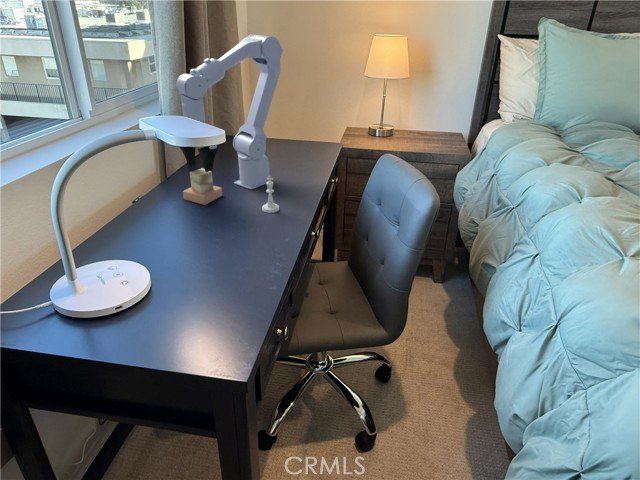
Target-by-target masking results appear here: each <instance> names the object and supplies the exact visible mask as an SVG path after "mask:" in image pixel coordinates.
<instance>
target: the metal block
mask: <svg viewBox="0 0 640 480" xmlns="http://www.w3.org/2000/svg"><path fill="white" fill-rule="evenodd" d="M189 177H190V185H191V187H192V190H194V191H196V192H198V193H200V194H202V193H205V192H208V191H210V190H213V189H214V188H213V186H214V179H213V172H212V171H209V172H205V169H204V167H201V168H198V169H196V170H191V171H189ZM191 187H190V188H191Z"/></svg>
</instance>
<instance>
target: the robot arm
mask: <svg viewBox="0 0 640 480" xmlns="http://www.w3.org/2000/svg"><path fill="white" fill-rule="evenodd" d="M283 50H284V49H283V48H282V45H281V42H280V40H279V39H278V38H277V37H276V36H273V35H269V36H268V35H262V34H261V35H260V34H258V33H251V34H249V35H248V36H246V37H244V38H243V39H241V41H240V42H239V43H237V44H236V45H235V46H234V47H232V48H231V49H230V50H229V51H227V52H226V53H225V54H223V55H222V56H220V57H219V58H218V59H216V58H213V57H212V58H205V59H204V60H203V63H201V65H199V66H197V67H196V68H191V69H189V73H183V74H181V75H179V77H178V78H177V80H176V82H175V83H176V85H174V88H175V90H176V92H177V93H178V94H179V97H180V101H181V109H182V111H181V112H182V117H183V116H184V117H188V118H192V119H194V120H197V121H200V122H203V123H206V114H205V105H204V96H206V92H207V90H208V89H209V88H211V87H212V86H214V85H215V84H217V83H218V82H219V81H221V80H223V79H224V77H225V75H226V71H227V70H230V69H231V68H233V67H234V66H236V65H237V64H239V63H241V62H243V61H245V60H246V59H249V58H250V59H252V60H253V62H255V64H256V65H257V67H258V70H259V72H260V73H259V76H258V80H257V84H256V86H255V90H254V94H253V98H252V101H251V105H250V108H249V111H248V115H247V118H246V121H245V123H244V124H242V125H241V126H240V127H239V129H238V131H237V133H236V135H235V136H234V138H233V141H232V146H233V149H234V150H235V151H236V153H237V156H238V157H237V159H238V171H239V179H238V180H236V181H234V182H233V183H234V184H235V185H237V186H241V187H242V188H246V189H249V190H254V189H256V188H259V187H261V186H264V185H266V183H267V182H269V180H267V178H269V176H271V174H270V173H271V172H270V162H269V158H268V156H267V155H266V154H265V153H266V149H267V147H266V146H267V145H266V143H267V138H268V137H267V135H266V133H265V130H264V128H265V124H266V121H267V118H268V114H269V112H270V108H271V104H272V101H273V98H274V94H275V91H276V89H277V84H278V81H279V78H280V73H281V58H282V54H283ZM179 149H180V151H181V153H182V154H183V156H184V158H185V160H186V163H187V165H188V166H189V167H191V166H194V165H196V162H197V161H196V160H197V156H196V148H193V147H179ZM218 150H219V146H218V145H215V146H210V147H204V146H203V147H199V148H197V151H198V153H199V154H200V157H201V159H202V164H203V169H205V172H209V171H211V172H212V171H213V169H214V162H215V161H214V160H215V157H216V155H217V152H218ZM271 182H273V180H271Z"/></svg>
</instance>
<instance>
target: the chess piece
mask: <svg viewBox="0 0 640 480" xmlns="http://www.w3.org/2000/svg"><path fill="white" fill-rule="evenodd" d="M267 180H269V182H267V183H266V184H265V185H266V186H267V189H266V191H265V192H266V193H268V195H267V202H266V204H265V203H264V204H263V205H262V206H261V207H262V208H261V210H262V212H264V213H267V214H268V213H269V214H273V213H277V212H279V211H280V206H279V205H278V204H277V203H275V202H274V198H273V193H274V192H275V190H274V189H273V187H274V182H273V180H274V178H273V177H271V175H270V176H269V178H267ZM271 180H272V181H271Z"/></svg>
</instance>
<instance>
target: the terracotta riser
mask: <svg viewBox="0 0 640 480" xmlns="http://www.w3.org/2000/svg"><path fill="white" fill-rule="evenodd" d="M213 188H214V189H213V190H210V191H208V192H205V193H202V194H200V193H198V192H196V191H194V190H192V187H189V188H186V189H184V190H183V191H182V196H183V199H184V200H185V201H189V202H193V203H196V204H201V205H203V206H206V205H207V204H209V203H211V202H213V201H215V200H217V199H219V198H221V197H222V196H223V188H222V186H221V187H220V186H217V185H213Z"/></svg>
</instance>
